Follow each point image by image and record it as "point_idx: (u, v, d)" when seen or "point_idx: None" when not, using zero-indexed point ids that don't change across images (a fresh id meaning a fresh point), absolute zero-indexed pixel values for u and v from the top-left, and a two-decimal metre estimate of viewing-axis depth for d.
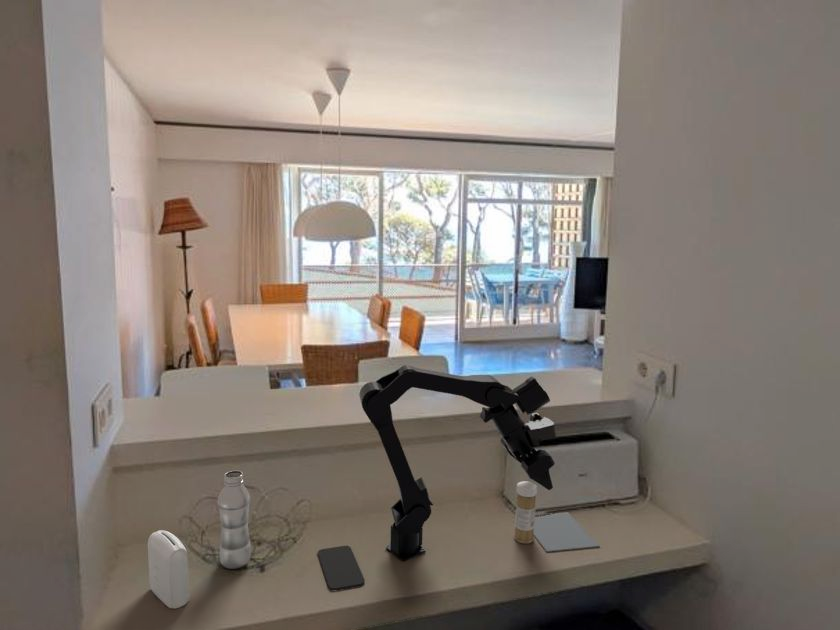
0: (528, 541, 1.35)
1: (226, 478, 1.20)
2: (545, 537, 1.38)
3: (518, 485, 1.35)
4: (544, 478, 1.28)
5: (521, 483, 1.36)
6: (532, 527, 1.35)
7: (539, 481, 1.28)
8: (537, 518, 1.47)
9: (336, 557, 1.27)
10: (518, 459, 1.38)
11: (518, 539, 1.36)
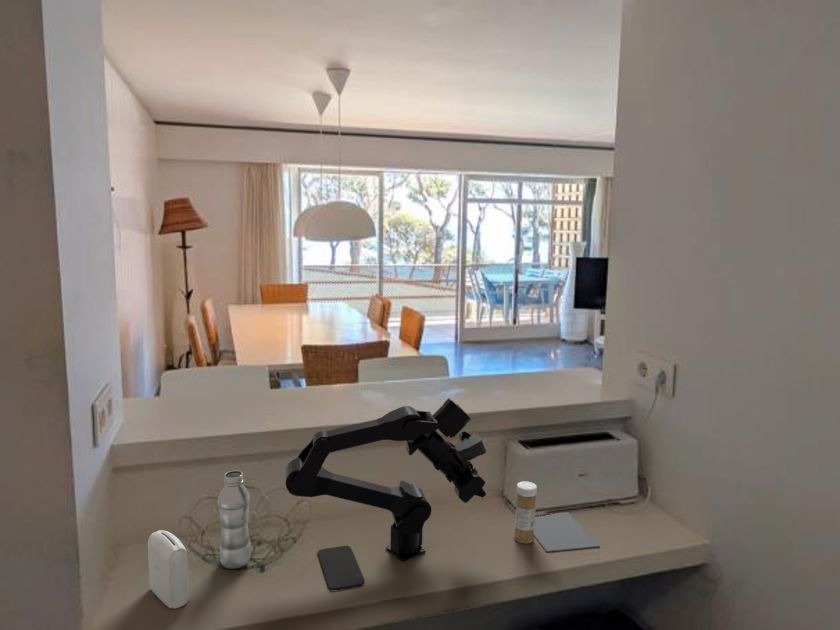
0: (528, 541, 1.35)
1: (226, 478, 1.20)
2: (545, 537, 1.38)
3: (518, 485, 1.35)
4: None
5: (521, 483, 1.36)
6: (532, 527, 1.35)
7: None
8: (537, 518, 1.47)
9: (336, 557, 1.27)
10: None
11: (518, 539, 1.36)
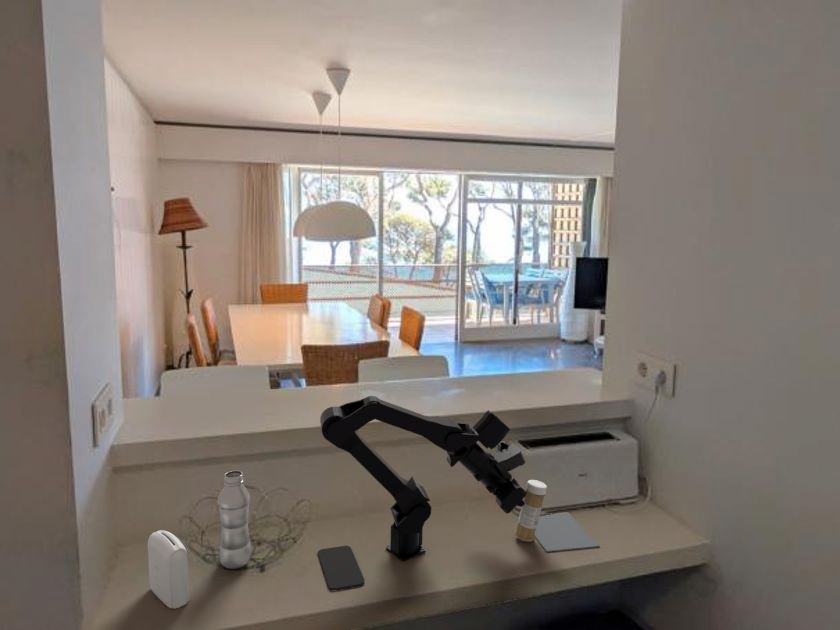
0: (529, 539, 1.35)
1: (226, 478, 1.20)
2: (545, 537, 1.38)
3: (529, 482, 1.36)
4: None
5: (532, 481, 1.37)
6: (535, 526, 1.35)
7: None
8: None
9: (336, 557, 1.27)
10: None
11: (519, 536, 1.36)
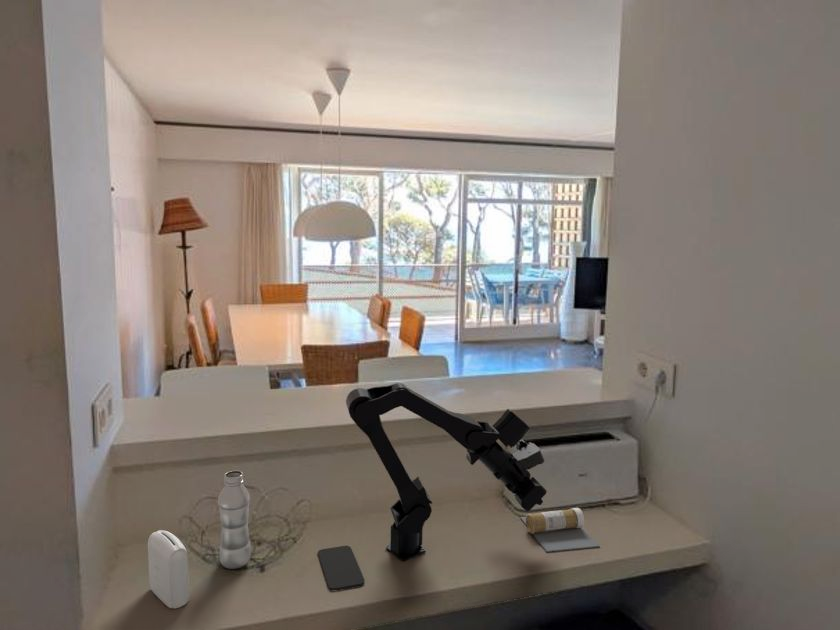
0: (533, 518, 1.39)
1: (226, 478, 1.20)
2: (545, 537, 1.38)
3: None
4: None
5: None
6: (547, 521, 1.39)
7: None
8: None
9: (336, 557, 1.27)
10: None
11: None
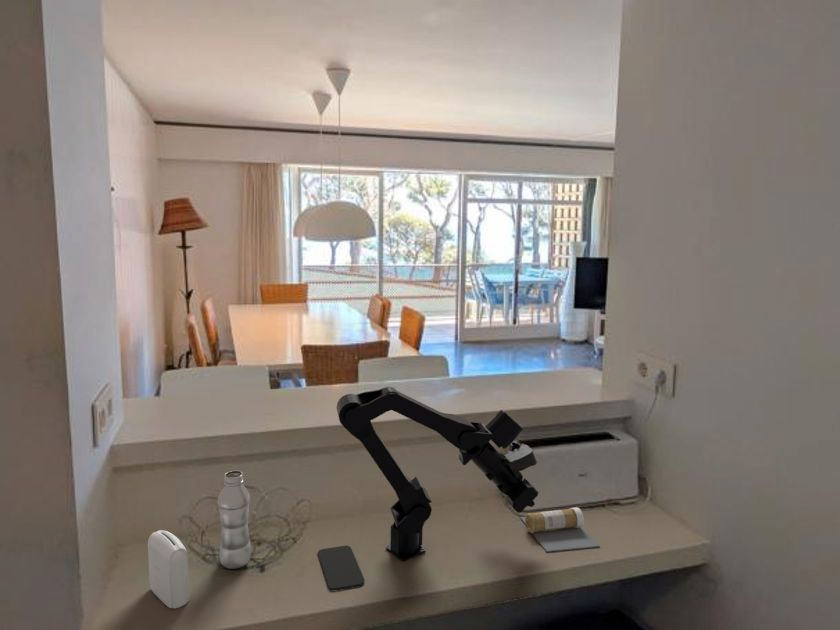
0: (533, 517, 1.39)
1: (226, 478, 1.20)
2: (545, 537, 1.38)
3: None
4: None
5: None
6: (546, 520, 1.39)
7: None
8: None
9: (336, 557, 1.27)
10: None
11: None
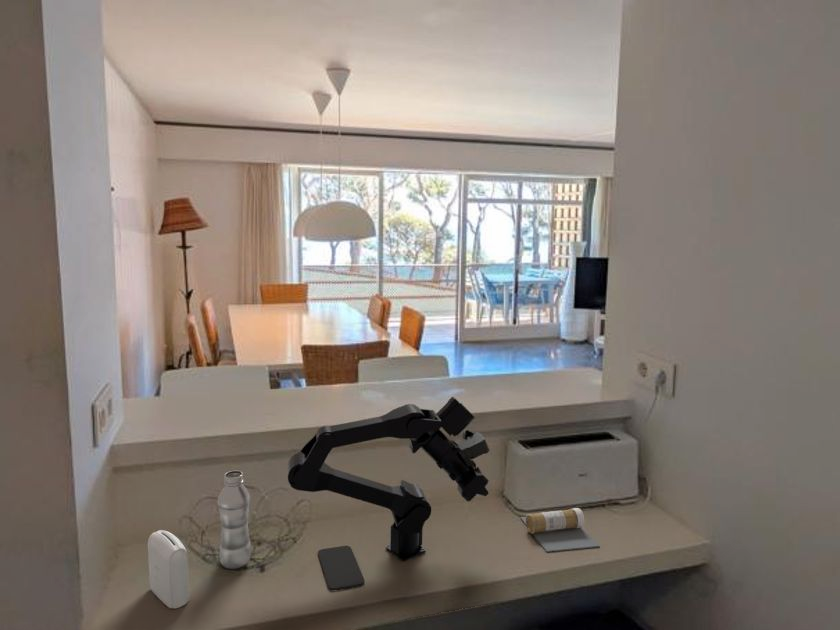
0: (534, 518, 1.39)
1: (226, 478, 1.20)
2: (545, 537, 1.38)
3: None
4: None
5: None
6: (547, 521, 1.39)
7: None
8: None
9: (336, 557, 1.27)
10: None
11: (530, 514, 1.41)
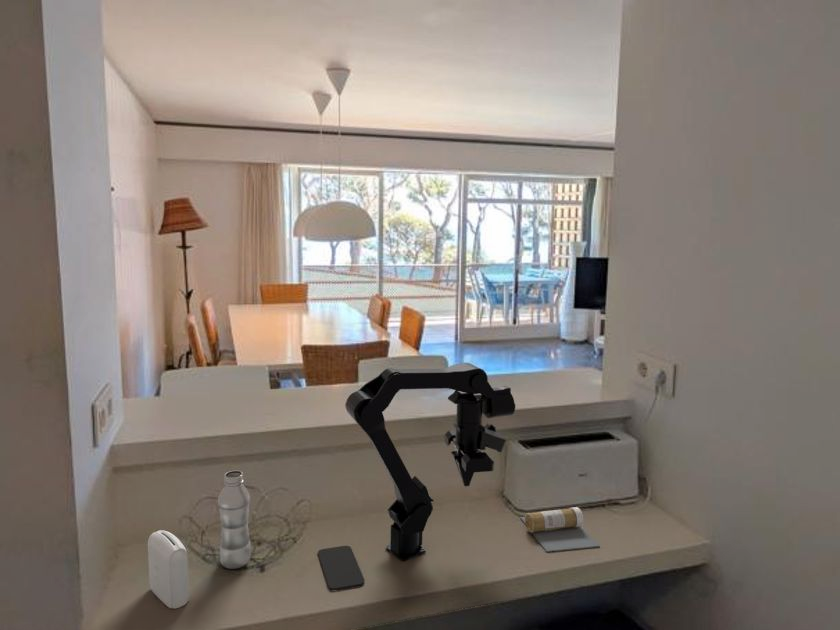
0: (532, 516, 1.39)
1: (226, 478, 1.20)
2: (545, 537, 1.38)
3: None
4: (468, 472, 1.33)
5: None
6: (546, 518, 1.39)
7: (462, 472, 1.33)
8: None
9: (336, 557, 1.27)
10: (458, 464, 1.34)
11: None
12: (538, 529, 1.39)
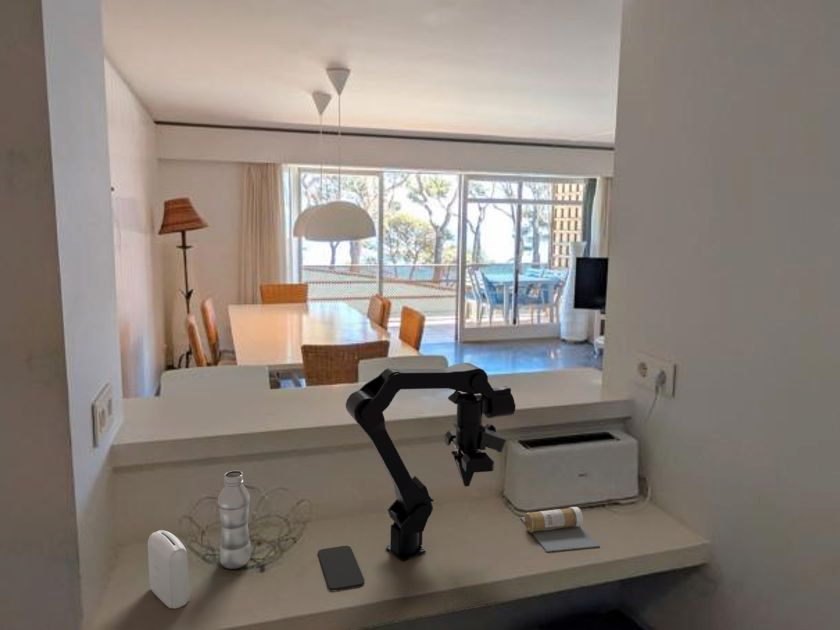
0: (532, 515, 1.40)
1: (226, 478, 1.20)
2: (545, 537, 1.38)
3: None
4: (468, 472, 1.33)
5: None
6: (545, 517, 1.40)
7: (462, 472, 1.33)
8: None
9: (336, 557, 1.27)
10: (458, 465, 1.34)
11: None
12: (538, 528, 1.39)
